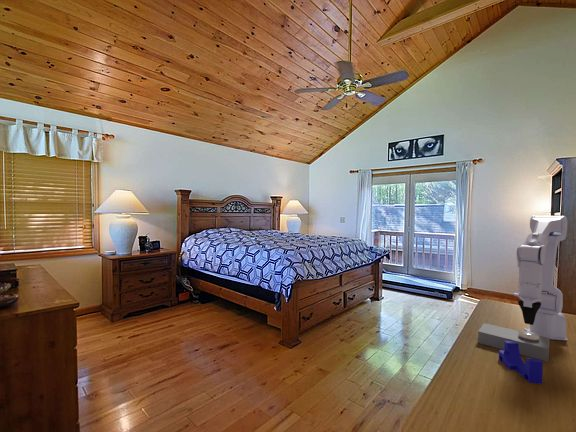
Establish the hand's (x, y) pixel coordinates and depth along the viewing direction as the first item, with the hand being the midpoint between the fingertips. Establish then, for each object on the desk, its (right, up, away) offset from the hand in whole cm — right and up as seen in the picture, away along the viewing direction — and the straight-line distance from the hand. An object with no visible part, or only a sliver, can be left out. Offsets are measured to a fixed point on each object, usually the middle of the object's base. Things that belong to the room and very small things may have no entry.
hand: (528, 323), depth 95 cm
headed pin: (0, -8, 0) cm, 8 cm away
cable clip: (-13, -10, -12) cm, 20 cm away
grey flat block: (-3, -9, +3) cm, 10 cm away
